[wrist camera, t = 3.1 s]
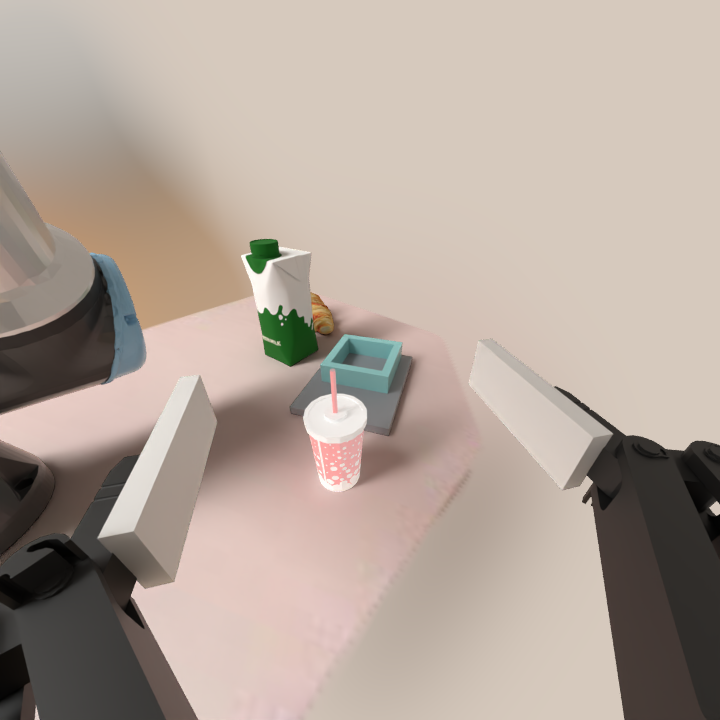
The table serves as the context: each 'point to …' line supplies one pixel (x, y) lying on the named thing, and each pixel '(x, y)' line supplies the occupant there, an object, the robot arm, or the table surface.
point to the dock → (362, 378)
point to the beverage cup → (336, 437)
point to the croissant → (321, 315)
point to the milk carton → (282, 299)
